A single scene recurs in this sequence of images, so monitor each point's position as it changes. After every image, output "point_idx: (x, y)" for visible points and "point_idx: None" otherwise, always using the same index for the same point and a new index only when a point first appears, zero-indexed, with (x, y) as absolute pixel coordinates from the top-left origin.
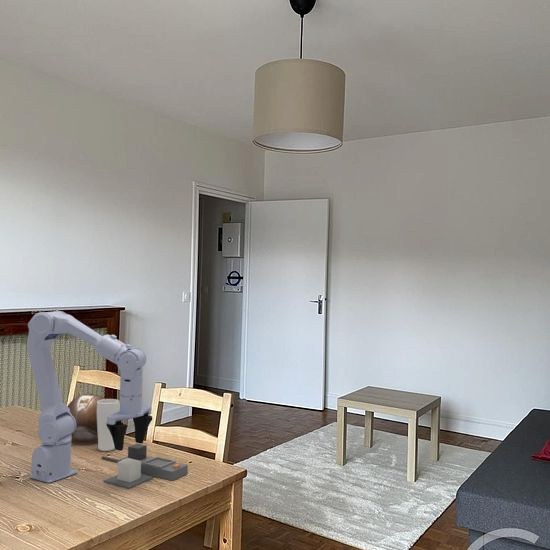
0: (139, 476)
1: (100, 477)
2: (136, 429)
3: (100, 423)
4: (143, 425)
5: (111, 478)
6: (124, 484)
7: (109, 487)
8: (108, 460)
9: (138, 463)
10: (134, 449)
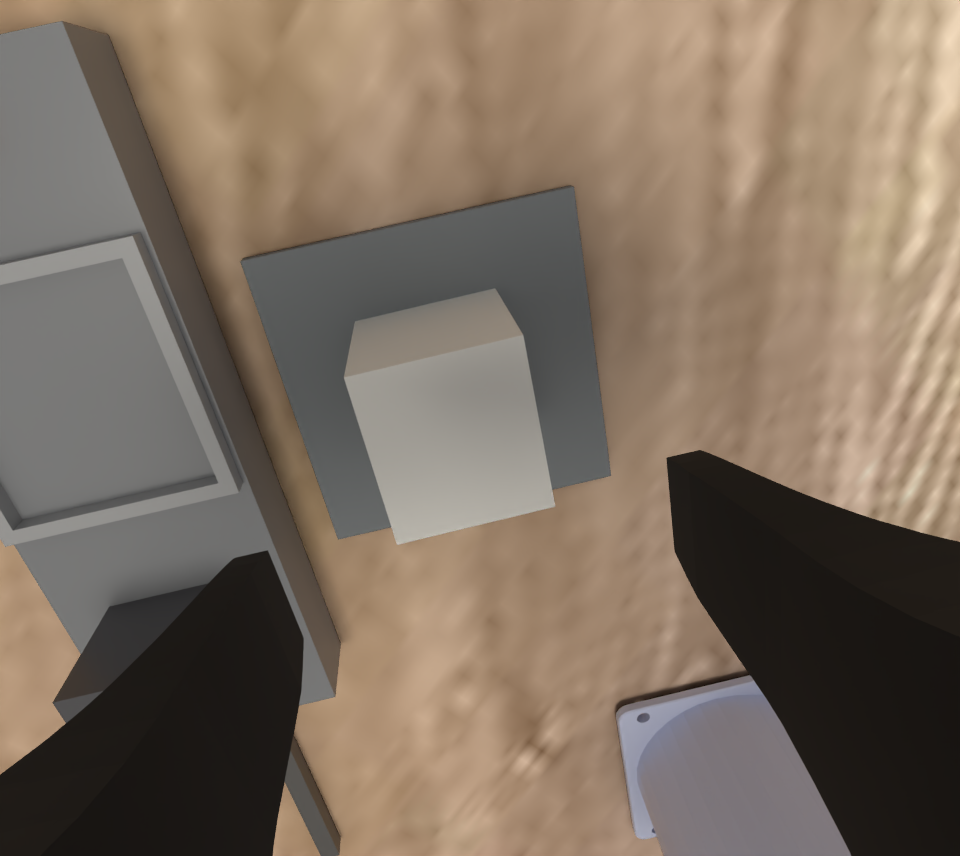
0: (369, 322)
1: (560, 561)
2: (260, 820)
3: None
4: (149, 803)
5: None
6: (559, 277)
7: (653, 338)
8: (320, 796)
9: (386, 361)
10: None
